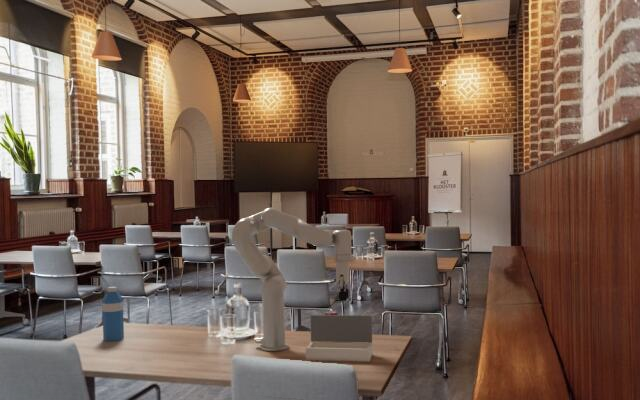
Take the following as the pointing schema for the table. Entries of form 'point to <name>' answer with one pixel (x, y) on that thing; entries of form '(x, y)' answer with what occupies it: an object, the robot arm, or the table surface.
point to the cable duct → (339, 351)
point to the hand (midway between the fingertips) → (343, 298)
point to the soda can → (330, 313)
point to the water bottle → (113, 315)
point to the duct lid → (341, 328)
